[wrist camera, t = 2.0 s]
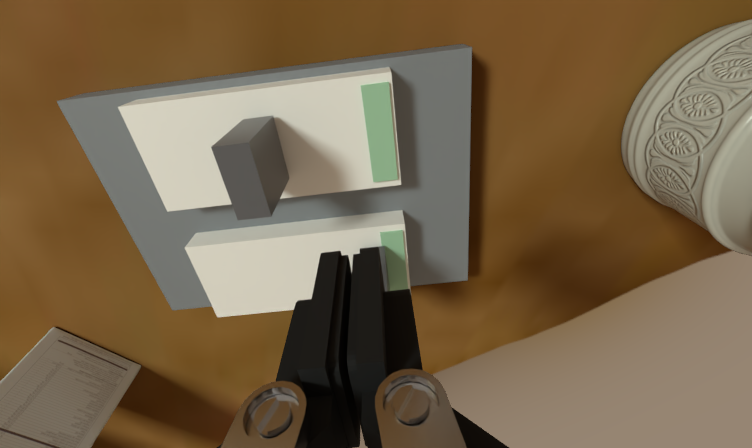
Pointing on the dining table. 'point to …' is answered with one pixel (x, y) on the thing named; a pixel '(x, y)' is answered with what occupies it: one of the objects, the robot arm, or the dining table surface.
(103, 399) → the supplement box
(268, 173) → the breaker handle
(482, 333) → the dining table surface
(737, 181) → the jar
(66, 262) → the dining table surface
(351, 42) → the dining table surface
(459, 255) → the breaker panel
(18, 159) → the dining table surface
